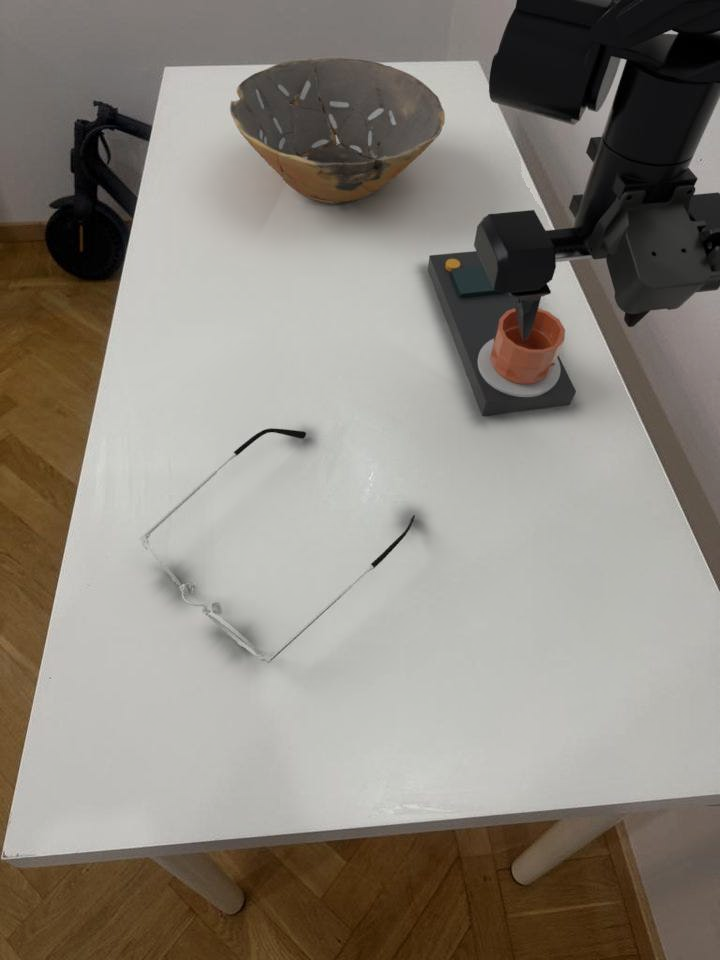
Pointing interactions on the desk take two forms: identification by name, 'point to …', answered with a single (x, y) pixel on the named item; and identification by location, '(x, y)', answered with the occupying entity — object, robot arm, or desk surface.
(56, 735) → the desk surface
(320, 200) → the bowl
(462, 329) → the scale
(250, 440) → the eyeglasses
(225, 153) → the desk surface
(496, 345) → the terracotta cup
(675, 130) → the robot arm
